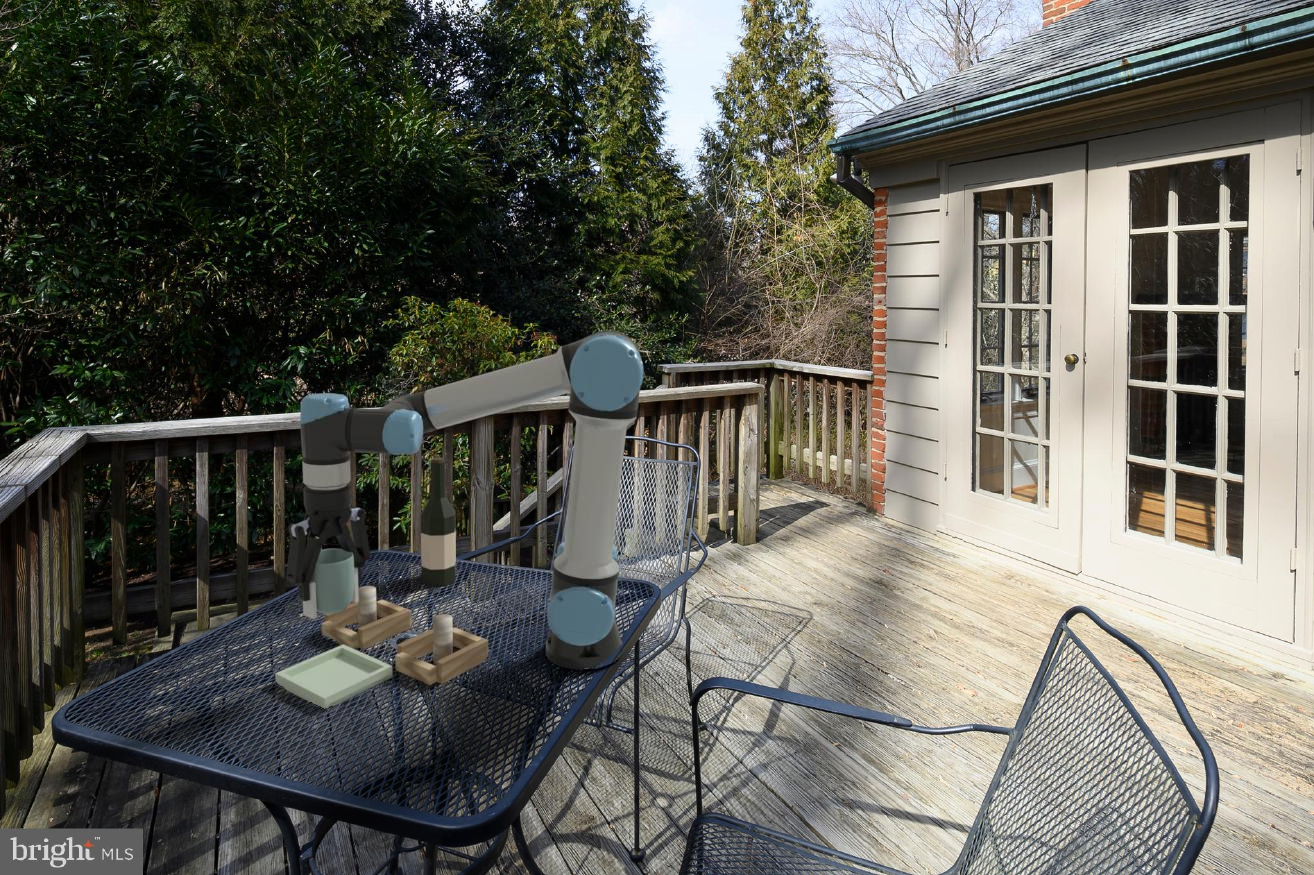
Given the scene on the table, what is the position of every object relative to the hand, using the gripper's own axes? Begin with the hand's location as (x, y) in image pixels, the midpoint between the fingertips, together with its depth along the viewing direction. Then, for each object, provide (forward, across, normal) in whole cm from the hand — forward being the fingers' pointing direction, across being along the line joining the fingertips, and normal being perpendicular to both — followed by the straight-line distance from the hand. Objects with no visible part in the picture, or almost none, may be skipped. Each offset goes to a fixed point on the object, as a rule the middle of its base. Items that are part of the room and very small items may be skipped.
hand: (331, 608), depth 141 cm
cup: (0, 0, 0) cm, 0 cm away
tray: (+14, 0, 0) cm, 14 cm away
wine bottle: (+14, -44, -21) cm, 51 cm away
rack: (+14, -17, -1) cm, 22 cm away
